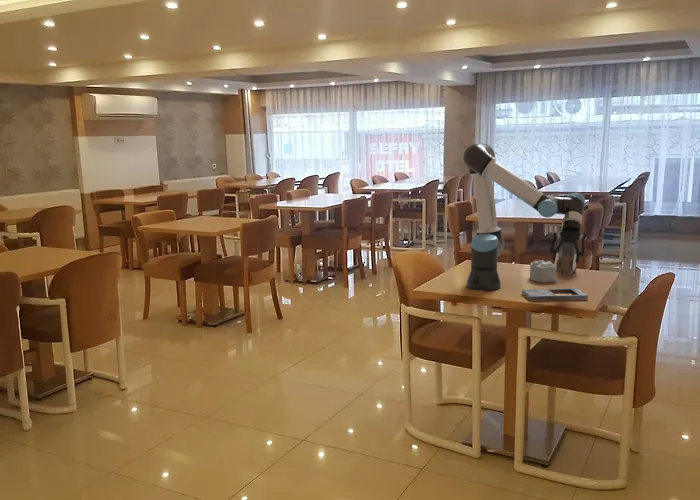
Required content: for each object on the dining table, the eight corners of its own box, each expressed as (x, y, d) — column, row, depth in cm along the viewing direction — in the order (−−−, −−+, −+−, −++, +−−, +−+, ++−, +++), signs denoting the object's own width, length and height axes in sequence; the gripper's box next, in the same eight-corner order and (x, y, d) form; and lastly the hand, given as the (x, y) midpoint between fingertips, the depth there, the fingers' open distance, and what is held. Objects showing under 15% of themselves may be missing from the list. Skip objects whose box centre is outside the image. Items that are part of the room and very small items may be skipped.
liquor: (574, 269, 319) (577, 211, 313) (576, 272, 310) (579, 213, 305) (555, 268, 321) (558, 210, 315) (557, 272, 312) (560, 213, 307)
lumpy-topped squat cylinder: (539, 282, 291) (540, 264, 289) (524, 276, 303) (525, 259, 301) (558, 281, 293) (559, 263, 292) (543, 275, 306) (544, 258, 304)
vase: (574, 273, 264) (575, 253, 263) (573, 276, 258) (574, 255, 256) (557, 272, 267) (558, 252, 265) (555, 275, 261) (556, 255, 259)
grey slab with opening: (530, 301, 258) (531, 296, 257) (521, 294, 270) (522, 289, 269) (587, 299, 259) (587, 295, 258) (576, 292, 270) (576, 288, 270)
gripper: (596, 230, 268) (589, 274, 257) (549, 228, 277) (541, 271, 266) (595, 219, 263) (588, 264, 251) (548, 218, 272) (539, 261, 260)
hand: (564, 267), depth 259 cm, fingers closed on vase, 7 cm apart
